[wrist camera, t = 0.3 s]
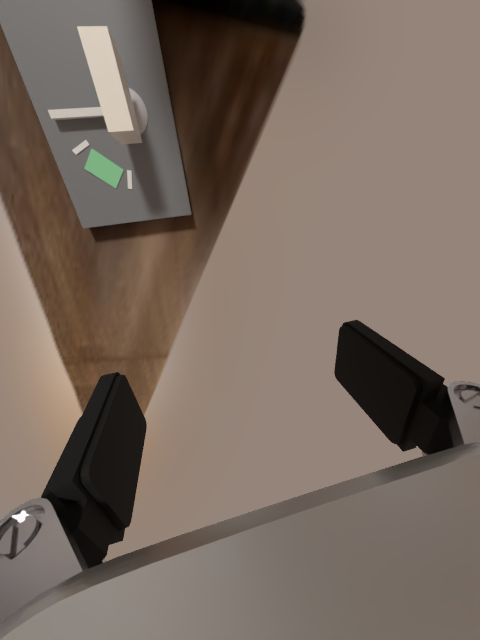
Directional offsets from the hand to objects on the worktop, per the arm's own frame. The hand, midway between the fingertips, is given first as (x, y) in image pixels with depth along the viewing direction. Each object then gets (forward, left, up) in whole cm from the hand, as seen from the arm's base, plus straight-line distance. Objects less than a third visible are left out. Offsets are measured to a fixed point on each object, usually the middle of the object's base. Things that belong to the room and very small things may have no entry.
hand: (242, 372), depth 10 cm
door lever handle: (-16, -9, -27) cm, 33 cm away
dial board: (-16, -7, -30) cm, 35 cm away
